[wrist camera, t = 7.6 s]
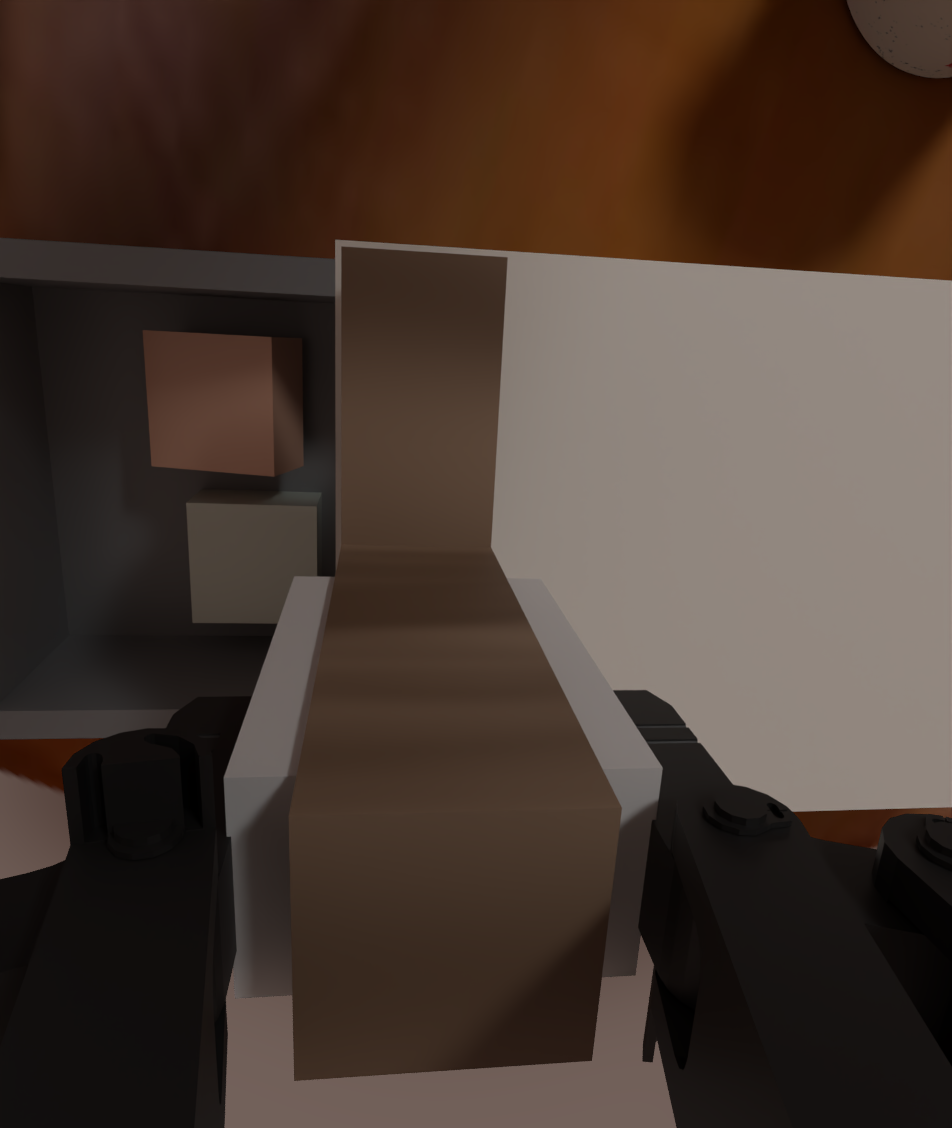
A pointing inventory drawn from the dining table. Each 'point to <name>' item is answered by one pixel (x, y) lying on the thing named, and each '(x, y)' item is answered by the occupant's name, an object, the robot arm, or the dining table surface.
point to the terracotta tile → (224, 402)
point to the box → (129, 478)
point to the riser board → (739, 505)
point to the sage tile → (250, 551)
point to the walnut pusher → (437, 726)
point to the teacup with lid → (908, 33)
